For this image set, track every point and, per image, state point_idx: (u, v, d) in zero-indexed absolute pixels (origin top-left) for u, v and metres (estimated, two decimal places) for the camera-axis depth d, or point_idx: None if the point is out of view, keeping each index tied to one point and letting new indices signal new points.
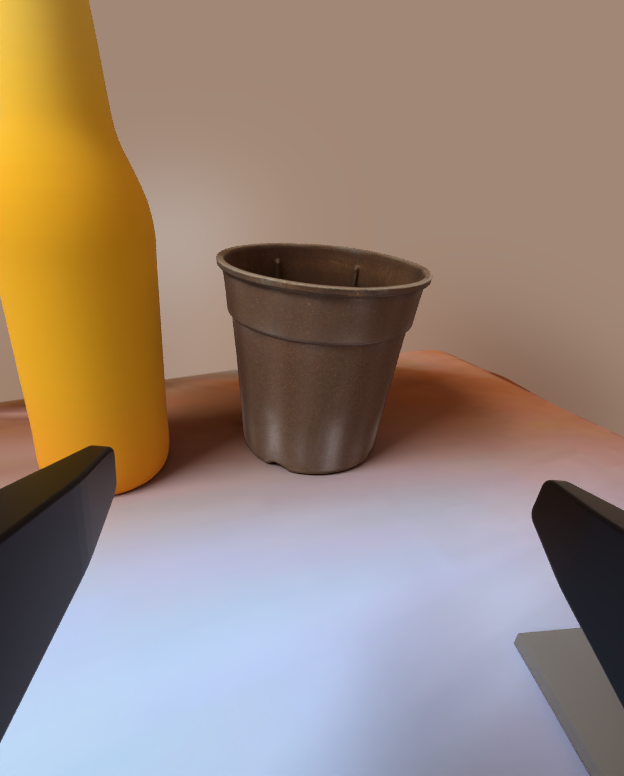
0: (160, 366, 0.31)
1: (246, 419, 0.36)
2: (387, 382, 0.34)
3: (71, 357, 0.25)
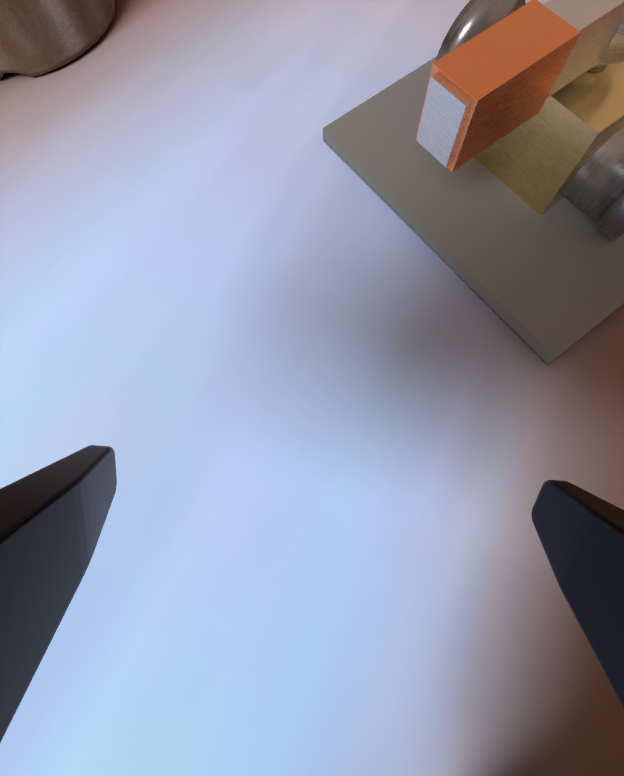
0: None
1: None
2: None
3: None
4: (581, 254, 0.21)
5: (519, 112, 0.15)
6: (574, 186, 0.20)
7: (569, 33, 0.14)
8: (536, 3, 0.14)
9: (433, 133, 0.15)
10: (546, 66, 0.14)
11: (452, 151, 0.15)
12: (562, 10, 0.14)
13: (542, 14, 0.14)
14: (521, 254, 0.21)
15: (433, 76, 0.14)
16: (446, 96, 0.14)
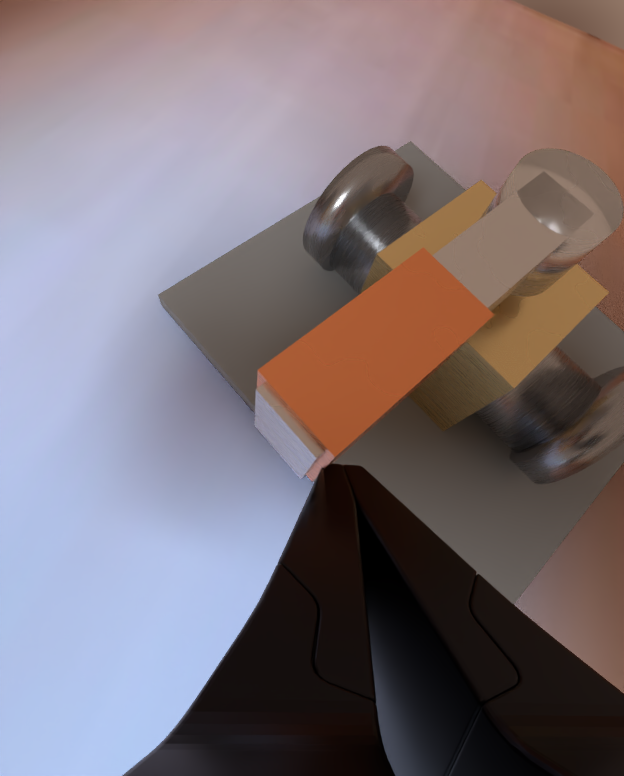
0: None
1: None
2: None
3: None
4: (494, 488, 0.16)
5: (409, 393, 0.10)
6: (482, 411, 0.15)
7: (477, 315, 0.08)
8: (426, 253, 0.09)
9: (275, 439, 0.09)
10: (446, 358, 0.09)
11: (307, 471, 0.09)
12: (464, 265, 0.09)
13: (436, 277, 0.09)
14: (422, 490, 0.16)
15: (260, 386, 0.08)
16: (284, 425, 0.08)
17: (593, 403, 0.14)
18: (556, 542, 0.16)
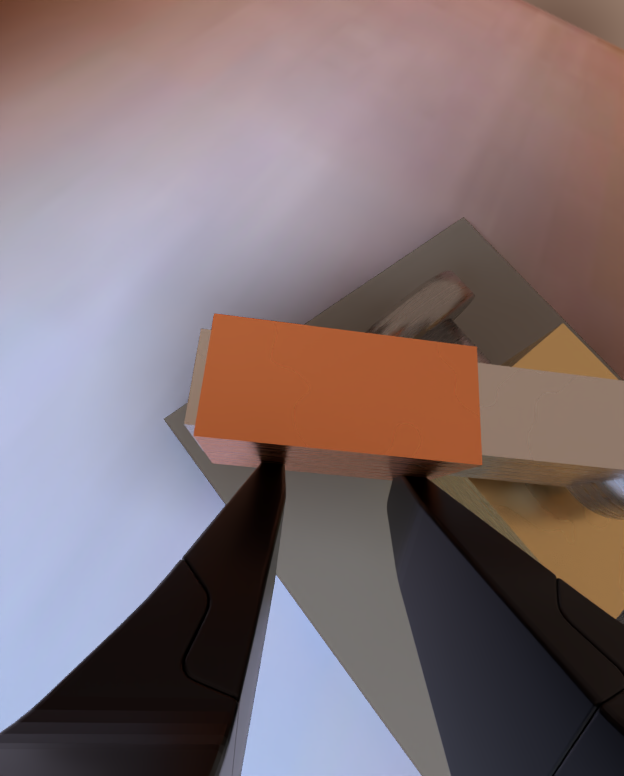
0: None
1: None
2: None
3: None
4: None
5: (358, 471, 0.08)
6: None
7: (463, 450, 0.07)
8: (475, 355, 0.07)
9: None
10: (399, 462, 0.07)
11: None
12: (505, 399, 0.07)
13: (459, 382, 0.07)
14: None
15: (207, 331, 0.07)
16: None
17: None
18: None
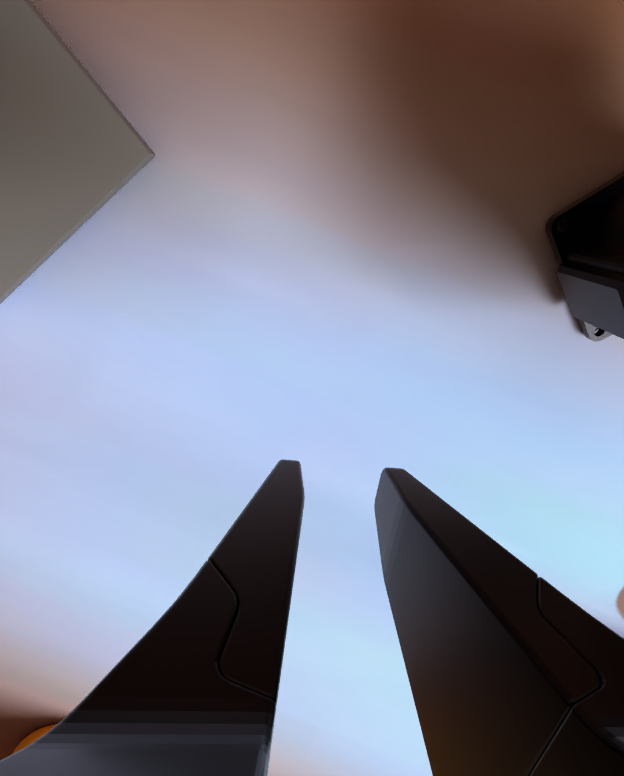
0: None
1: None
2: None
3: None
4: None
5: None
6: None
7: None
8: None
9: None
10: None
11: None
12: None
13: None
14: (6, 176, 0.16)
15: None
16: None
17: None
18: (30, 14, 0.14)
